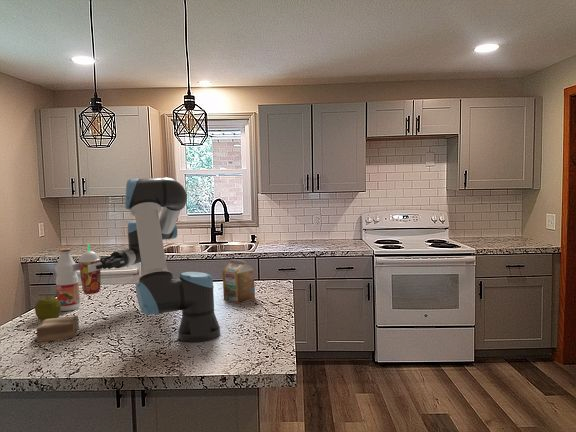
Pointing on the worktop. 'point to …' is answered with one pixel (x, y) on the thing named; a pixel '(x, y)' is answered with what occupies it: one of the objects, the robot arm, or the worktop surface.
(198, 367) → the worktop surface
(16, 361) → the worktop surface
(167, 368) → the worktop surface
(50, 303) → the apple
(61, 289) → the fruit juice
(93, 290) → the smoothie
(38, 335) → the brown flat block
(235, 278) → the milk carton
